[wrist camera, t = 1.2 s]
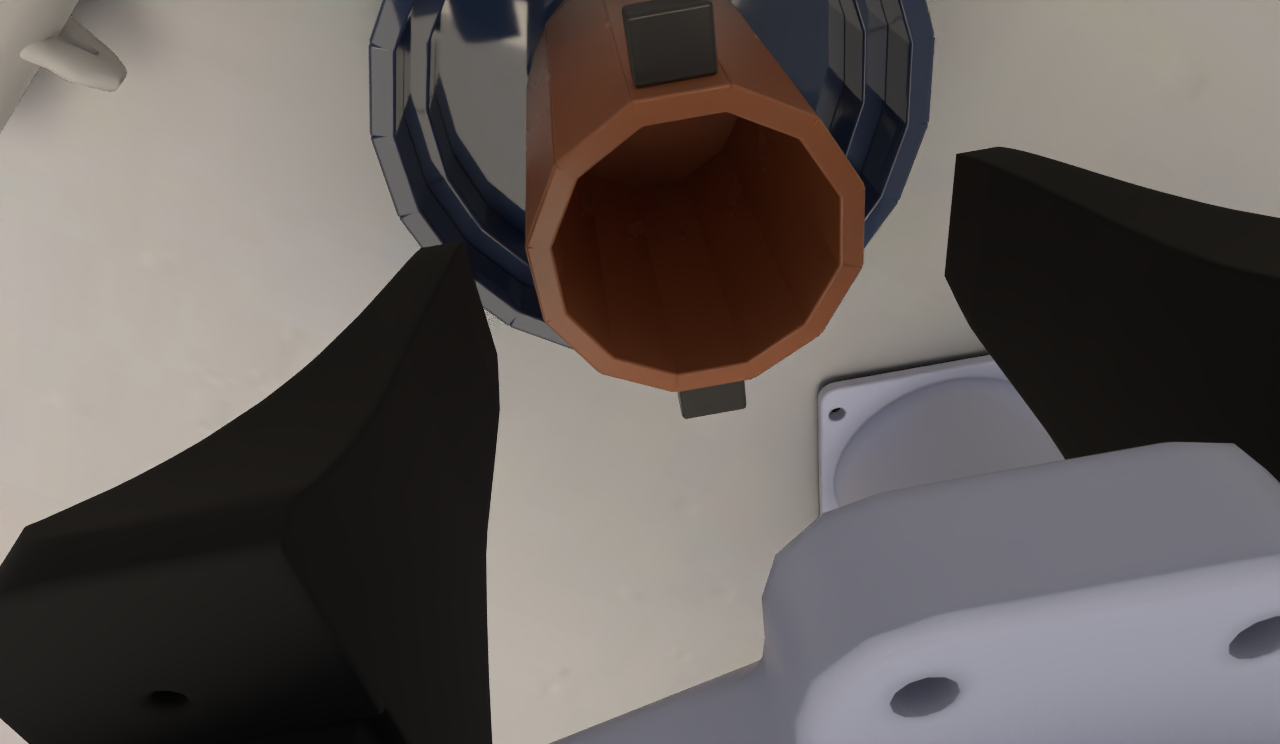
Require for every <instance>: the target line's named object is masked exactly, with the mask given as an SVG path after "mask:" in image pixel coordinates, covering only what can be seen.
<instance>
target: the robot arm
mask: <svg viewBox="0 0 1280 744" xmlns="http://www.w3.org/2000/svg"><path fill="white" fill-rule="evenodd" d="M945 278H946V280H947V282H948V284H949V286H950V288H951V290H952V292H953V294H954V297H955V299H956V301H957V303H958V305H959V307H960V309H961V311H962V312H963V314H964V316H965V318H966V320H967V322H968V324H969V326H970V327H971V329H972V330H973V332H974V333H975V334H976V336H977V337H978V339H979V340H980V342H981V343H982V344H983V346H984V347H985V348H986V350H987V351H988V353H989V354H990V355H986V356H980V357H974V358H969V359H963V360H957V361H952V362H946V363H940V364H935V365H929V366H924V367H918V368H912V369H907V370H901V371H895V372H890V373H884V374H878V375H873V376H867V377H861V378H856V379H850V380H845V381H839V382H834V383H831V384H828V385H826V386H825V387H823V388H822V389H821V391H820V392H819V395H818V440H819V503H820V517H818V518H817V519H816V520H815V521H814V522H813V523H812V524H810V525H809V526H808V527H807V528H806V529H805V530H804V531H802V532H801V533H800V534H799V535H798V536H797V537H795V538H794V539H793V540H792V541H791V542H790V543H789V544H787V545H786V546H785V547H784V548H783V549H782V550H781V551H780V552H779V553H778V554H776V555H775V558H774V561H773V565H772V568H771V571H770V574H769V577H768V580H767V583H766V586H765V589H764V592H763V596H762V606H763V619H764V631H765V643H764V650H763V657H762V659H761V660H759V661H757V662H754V663H752V664H749V665H747V666H744V667H742V668H739V669H737V670H734V671H732V672H729V673H727V674H724V675H722V676H719V677H717V678H714V679H711V680H709V681H706V682H704V683H701V684H699V685H696V686H694V687H691V688H689V689H686V690H684V691H681V692H679V693H676V694H674V695H671V696H669V697H666V698H663V699H661V700H658V701H656V702H653V703H651V704H648V705H646V706H643V707H641V708H638V709H636V710H633V711H631V712H628V713H626V714H623V715H620V716H618V717H615V718H613V719H610V720H608V721H605V722H603V723H600V724H598V725H595V726H593V727H590V728H588V729H585V730H583V731H580V732H577V733H575V734H572V735H570V736H567V737H565V738H562V739H560V740H557V741H555V742H552V743H550V744H1280V218H1276V217H1271V216H1265V215H1260V214H1254V213H1249V212H1244V211H1238V210H1233V209H1228V208H1224V207H1219V206H1215V205H1210V204H1206V203H1202V202H1198V201H1194V200H1190V199H1186V198H1182V197H1179V196H1175V195H1171V194H1167V193H1163V192H1159V191H1156V190H1152V189H1149V188H1145V187H1142V186H1138V185H1135V184H1131V183H1128V182H1125V181H1121V180H1118V179H1115V178H1111V177H1108V176H1105V175H1102V174H1098V173H1095V172H1092V171H1089V170H1085V169H1082V168H1079V167H1076V166H1073V165H1069V164H1066V163H1063V162H1060V161H1056V160H1053V159H1050V158H1046V157H1043V156H1039V155H1036V154H1032V153H1028V152H1024V151H1020V150H1016V149H1011V148H1005V147H994V148H988V149H982V150H976V151H971V152H965V153H959V154H956V163H955V174H954V184H953V195H952V205H951V215H950V226H949V236H948V246H947V257H946V267H945ZM835 408H840V409H839V410H838V411H837V412H834V413H830V412H831V411H832V410H833V409H835ZM499 411H500V404H499V378H498V360H497V352H496V349H495V345H494V342H493V339H492V335H491V332H490V329H489V325H488V322H487V319H486V316H485V312H484V309H483V306H482V302H481V299H480V296H479V292H478V289H477V286H476V282H475V279H474V276H473V273H472V269H471V266H470V263H469V259H468V256H467V253H466V249H465V246H464V243H463V241H458V242H452V243H446V244H441V245H435V246H429V247H424V248H421V249H420V250H418V251H417V252H416V253H415V254H414V255H413V256H412V257H411V258H410V259H409V260H408V262H407V263H406V264H405V265H404V266H403V267H402V268H401V269H400V270H399V272H398V273H397V274H396V275H395V276H394V277H393V278H392V280H391V281H390V282H389V283H388V284H387V285H386V286H385V287H384V289H383V290H382V291H381V292H380V293H379V294H378V295H377V296H376V297H375V298H374V300H373V301H372V302H371V303H370V304H369V305H368V306H367V307H366V308H365V309H364V311H363V312H362V313H361V314H360V315H359V316H358V317H357V318H356V319H355V320H354V321H353V322H352V323H351V324H350V325H349V326H348V327H347V328H346V329H345V330H344V331H343V332H342V333H341V334H340V335H339V336H338V337H337V338H336V339H335V340H333V341H332V342H331V343H330V344H329V345H328V346H327V347H326V348H325V349H324V350H323V351H322V352H321V353H320V354H319V355H318V356H317V357H316V358H315V359H314V360H312V361H311V362H310V363H309V364H308V365H307V366H306V367H304V368H303V369H302V370H301V371H300V372H298V373H297V374H296V375H295V376H294V377H292V378H291V379H290V380H288V381H287V382H286V383H285V384H283V385H282V386H281V387H280V388H278V389H277V390H276V391H274V392H273V393H272V394H271V395H269V396H268V397H267V398H265V399H264V400H262V401H261V402H260V403H258V404H257V405H255V406H254V407H252V408H251V409H249V410H248V411H246V412H245V413H243V414H242V415H240V416H239V417H237V418H236V419H234V420H233V421H231V422H230V423H228V424H227V425H225V426H223V427H222V428H220V429H219V430H217V431H216V432H214V433H213V434H211V435H210V436H208V437H207V438H205V439H203V440H202V441H200V442H198V443H197V444H195V445H193V446H192V447H190V448H188V449H186V450H185V451H183V452H181V453H179V454H178V455H176V456H174V457H172V458H171V459H169V460H167V461H165V462H163V463H161V464H159V465H157V466H155V467H154V468H152V469H150V470H148V471H146V472H144V473H142V474H140V475H138V476H137V477H135V478H133V479H131V480H128V481H126V482H124V483H122V484H120V485H118V486H116V487H114V488H112V489H110V490H108V491H105V492H103V493H101V494H99V495H97V496H94V497H92V498H90V499H88V500H85V501H83V502H81V503H79V504H77V505H74V506H72V507H70V508H68V509H65V510H63V511H61V512H59V513H56V514H54V515H52V516H50V517H48V518H45V519H43V520H40V521H38V522H36V523H33V524H31V525H28V526H26V527H25V528H24V529H23V531H22V532H21V534H20V536H19V537H18V539H17V541H16V542H15V544H14V545H13V547H12V548H11V550H10V552H9V553H8V555H7V556H6V558H5V560H4V561H3V563H2V564H1V566H0V718H1V719H2V720H3V721H4V722H5V723H6V724H8V725H9V726H10V727H11V728H12V729H13V730H14V731H15V732H16V733H18V734H19V735H20V736H21V737H22V738H23V739H24V740H25V741H27V742H28V743H29V744H492V729H491V709H490V689H489V664H488V632H487V586H486V548H487V529H488V519H489V510H490V500H491V491H492V481H493V472H494V462H495V453H496V443H497V433H498V422H499Z"/></svg>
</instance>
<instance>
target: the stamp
mask: <svg viewBox="0 0 1280 744" xmlns="http://www.w3.org/2000/svg"><path fill="white" fill-rule="evenodd" d="M78 1H79V0H0V133H1V132H2V130H3V128H4V127H5V125H6V123H7V122H8V120H9V118H10V116H11V115H12V113H13V111H14V110H15V108H16V106H17V105H18V103H19V101H20V100H21V98H22V96H23V94H24V93H25V91H26V89H27V88H28V86H29V84H30V83H31V81H32V79H33V78H34V76H35V74H36V72H37V71H38V69H39V67H40V66H41V67H44V68H46V69H48V70H50V71H51V72H53V73H55V74H56V75H58V76H60V77H61V78H63V79H65V80H67V81H69V82H71V83H75V84H79V85H83V86H87V87H91V88H95V89H99V90H103V91H108V92H111V91H115V90H116V89H117V88H118V87H119V86H120V84H121V83H122V82H123V80H124V79H125V77H126V74H127V71H126V68H125V66H124V65H123V64H122V62H121V61H120V60H119V58H118V57H117V56H116V55H115V53H114V52H113V51H111V50H110V49H109V48H108V47H107V46H106V45H105V44H103V43H102V42H101V41H100V40H99V39H97V38H96V37H95V36H94V35H93V34H91V33H90V32H89V31H88V30H87V29H85V28H84V27H83V26H82V25H81V24H79V23H78V22H77V21H76V20H75V19H74V18H72V17H71V16H70V15H71V13H72V12H73V10H74V8H75V6H76V5H77V3H78Z"/></svg>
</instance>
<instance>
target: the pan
mask: <svg viewBox="0 0 1280 744" xmlns="http://www.w3.org/2000/svg"><path fill="white" fill-rule="evenodd" d="M562 2H563V0H383V1H382V4H381V7H380V10H379V13H378V16H377V19H376V22H375V25H374V28H373V31H372V34H371V37H370V44H369V108H370V134H371V140H372V143H373V146H374V149H375V152H376V155H377V158H378V160H379V163H380V166H381V169H382V172H383V175H384V177H385V180H386V183H387V186H388V189H389V192H390V195H391V197H392V200H393V203H394V206H395V209H396V212H397V214H398V216H400V220H401V221H402V222H403V224H404V225H405V226H406V228H407V229H408V230H409V232H410V233H411V234H412V236H413V237H414V238H415V240H416V241H417V242H418V244H419V245H420V246H421V248H424V247H429V246H435V245H441V244H446V243H452V242H458V241H463V243H464V246H465V249H466V253H467V256H468V259H469V263H470V266H471V269H472V273H473V276H474V279H475V282H476V286H477V289H478V292H479V296H480V299H481V302H482V306H483V308H485V309H486V310H487V311H489V312H490V313H491V314H493V315H494V316H496V317H497V318H498V319H500V320H501V321H502V322H504V323H505V324H507V325H510V326H511V327H512V328H515V329H518V330H521V331H523V332H526V333H529V334H532V335H535V336H537V337H540V338H543V339H546V340H548V341H551V342H554V343H557V344H559V345H562V346H565V347H568V348H571V349H573V348H572V347H571V346H570V345H569V344H568V343H566V342H565V341H564V340H563V339H562V338H561V337H560V336H559V335H558V334H557V333H556V332H555V331H553V330H552V329H551V328H550V327H549V326H548V325H547V324H546V323H545V321H544V320H543V316H542V312H541V308H540V304H539V300H538V297H537V293H536V289H535V285H534V281H533V277H532V273H531V269H530V265H529V261H528V257H527V254H526V250H525V212H526V86H527V79H528V76H529V73H530V70H531V65H532V59H533V55H534V51H535V47H536V45H537V42H538V39H539V37H540V34H541V32H542V30H543V28H544V26H545V24H546V23H547V20H548V19H549V18H550V16H551V15H552V14H553V12H554V11H555V10H556V8H557V7H558V6H559V5H560V4H561V3H562ZM731 2H732V3H733V4H734V6H735V7H736V8H737V9H738V11H739V12H740V13H741V15H742V16H743V17H744V19H745V20H746V21H747V23H748V24H749V25H750V27H751V28H752V29H753V31H754V32H755V33H756V34H757V36H758V37H759V38H760V40H761V41H762V42H763V44H764V45H765V46H766V48H767V49H768V50H769V52H770V53H771V54H772V56H773V57H774V58H775V59H776V61H777V62H778V63H779V65H780V66H781V67H782V69H783V70H784V71H785V73H786V74H787V75H788V77H789V78H790V79H791V81H792V82H793V83H794V84H795V86H796V87H797V88H798V90H799V91H800V92H801V94H802V95H803V96H804V98H805V99H806V100H807V102H808V103H809V104H810V106H811V107H812V108H813V109H814V111H815V112H816V113H817V115H818V116H819V117H820V119H821V120H822V122H823V123H824V125H825V126H826V128H827V129H828V131H829V132H830V134H831V135H832V137H833V138H834V140H835V141H836V143H837V144H838V146H839V147H840V149H841V150H842V152H843V153H844V154H845V156H846V157H847V159H848V160H849V162H850V163H851V165H852V166H853V168H854V169H855V171H856V172H857V174H858V175H859V177H860V178H861V180H862V181H863V183H864V187H865V216H864V248H865V246H866V245H867V244H868V242H869V241H870V240H871V238H872V237H873V236H874V234H875V233H876V232H877V230H878V229H879V227H880V226H881V225H882V223H883V222H884V221H885V219H886V218H887V217H888V215H889V214H890V213H891V211H892V210H893V209H894V207H895V206H896V204H897V203H898V201H897V200H899V199H900V197H901V194H902V192H903V189H904V186H905V184H906V181H907V179H908V176H909V173H910V171H911V168H912V165H913V163H914V160H915V158H916V155H917V152H918V150H919V147H920V144H921V142H922V139H923V137H924V134H925V131H926V129H927V125H928V124H927V123H928V122H929V112H930V97H931V83H932V69H933V55H934V40H935V38H934V36H933V35H934V31H933V27H932V23H931V19H930V15H929V11H928V7H927V3H926V0H731ZM573 350H574V349H573Z"/></svg>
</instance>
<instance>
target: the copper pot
mask: <svg viewBox="0 0 1280 744" xmlns="http://www.w3.org/2000/svg"><path fill="white" fill-rule="evenodd" d="M864 216H865V187H864V183H863V181H862V180H861V178H860V177H859V175H858V174H857V172H856V171H855V169H854V168H853V166H852V165H851V163H850V162H849V160H848V159H847V157H846V156H845V154H844V153H843V152H842V150H841V149H840V147H839V146H838V144H837V143H836V141H835V140H834V138H833V137H832V135H831V134H830V132H829V131H828V129H827V128H826V126H825V125H824V123H823V122H822V120H821V119H820V117H819V116H818V115H817V113H816V112H815V111H814V109H813V108H812V107H811V106H810V104H809V103H808V102H807V100H806V99H805V98H804V96H803V95H802V94H801V92H800V91H799V90H798V88H797V87H796V86H795V84H794V83H793V82H792V81H791V79H790V78H789V77H788V75H787V74H786V73H785V71H784V70H783V69H782V67H781V66H780V65H779V63H778V62H777V61H776V59H775V58H774V57H773V56H772V54H771V53H770V52H769V50H768V49H767V48H766V46H765V45H764V44H763V42H762V41H761V40H760V38H759V37H758V36H757V34H756V33H755V32H754V31H753V29H752V28H751V27H750V25H749V24H748V23H747V21H746V20H745V19H744V17H743V16H742V15H741V13H740V12H739V11H738V9H737V8H736V7H735V6H734V4H733V3H732V2H731V0H563V2H562V3H561V4H560V5H559V6H558V7H557V8H556V10H555V11H554V12H553V14H552V15H551V16H550V18H549V19H548V20H547V23H546V24H545V26H544V28H543V30H542V32H541V34H540V37H539V39H538V42H537V45H536V47H535V51H534V55H533V59H532V65H531V70H530V73H529V76H528V79H527V86H526V212H525V250H526V254H527V257H528V261H529V265H530V269H531V273H532V277H533V281H534V285H535V289H536V293H537V297H538V300H539V304H540V308H541V312H542V316H543V320H544V321H545V323H546V324H547V325H548V326H549V327H550V328H551V329H552V330H553V331H555V332H556V333H557V334H558V335H559V336H560V337H561V338H562V339H563V340H564V341H565V342H566V343H568V344H569V345H570V346H571V347H572V348H573V349H574V350H575V351H576V352H577V353H578V354H579V355H581V356H582V357H583V358H584V359H585V360H586V361H587V362H588V363H589V364H590V365H591V366H593V367H594V368H595V369H596V370H597V371H598V372H600V373H602V374H604V375H608V376H612V377H616V378H620V379H624V380H628V381H631V382H635V383H639V384H643V385H647V386H651V387H655V388H659V389H663V390H667V391H671V392H678V398H679V403H680V408H681V412H682V416H683V417H684V418H685V419H688V418H694V417H700V416H705V415H711V414H716V413H722V412H728V411H733V410H739V409H744V408H745V407H746V395H745V383H744V380H749V379H752V378H755V377H757V376H758V375H760V374H761V373H763V372H764V371H766V370H767V369H769V368H770V367H772V366H773V365H775V364H777V363H778V362H780V361H781V360H783V359H784V358H786V357H787V356H789V355H790V354H792V353H793V352H795V351H796V350H798V349H799V348H801V347H802V346H804V345H806V344H807V343H809V342H810V341H812V340H813V339H815V338H816V337H818V336H819V335H820V333H822V332H823V330H824V329H825V327H826V326H827V324H828V322H829V321H830V319H831V317H832V316H833V314H834V313H835V311H836V309H837V308H838V306H839V304H840V303H841V301H842V300H843V298H844V296H845V295H846V293H847V291H848V290H849V288H850V287H851V285H852V283H853V282H854V280H855V278H856V277H857V275H858V273H859V272H860V270H861V269H862V265H863V258H864Z"/></svg>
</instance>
